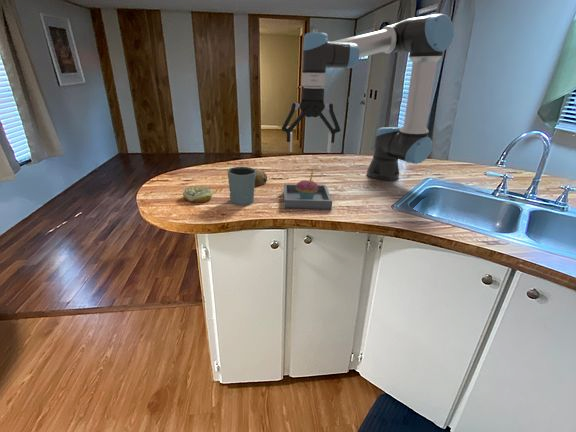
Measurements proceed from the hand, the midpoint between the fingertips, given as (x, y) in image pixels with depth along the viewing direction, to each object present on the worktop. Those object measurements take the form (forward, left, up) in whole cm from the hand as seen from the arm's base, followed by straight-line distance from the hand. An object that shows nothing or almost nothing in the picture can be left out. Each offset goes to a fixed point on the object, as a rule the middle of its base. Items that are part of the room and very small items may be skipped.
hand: (309, 151), depth 110 cm
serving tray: (0, 0, -19) cm, 19 cm away
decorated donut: (+41, 0, -19) cm, 46 cm away
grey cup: (+24, +2, -19) cm, 31 cm away
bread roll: (+21, -20, -19) cm, 35 cm away
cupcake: (0, 0, -18) cm, 18 cm away
